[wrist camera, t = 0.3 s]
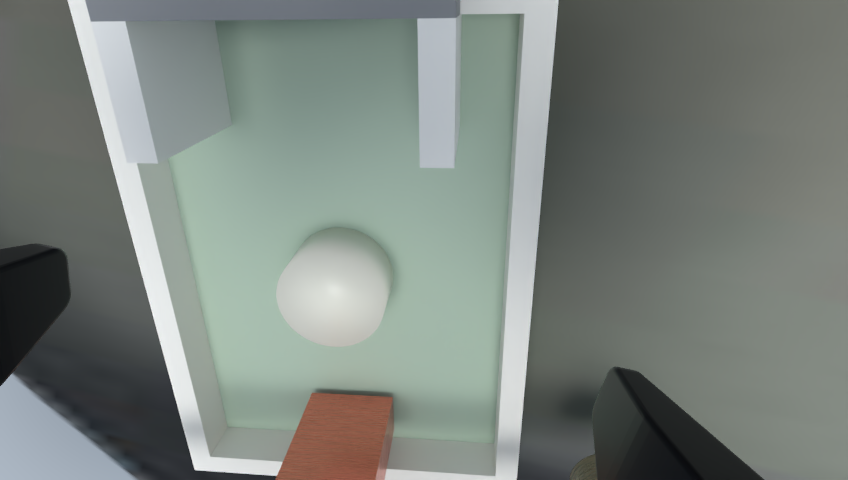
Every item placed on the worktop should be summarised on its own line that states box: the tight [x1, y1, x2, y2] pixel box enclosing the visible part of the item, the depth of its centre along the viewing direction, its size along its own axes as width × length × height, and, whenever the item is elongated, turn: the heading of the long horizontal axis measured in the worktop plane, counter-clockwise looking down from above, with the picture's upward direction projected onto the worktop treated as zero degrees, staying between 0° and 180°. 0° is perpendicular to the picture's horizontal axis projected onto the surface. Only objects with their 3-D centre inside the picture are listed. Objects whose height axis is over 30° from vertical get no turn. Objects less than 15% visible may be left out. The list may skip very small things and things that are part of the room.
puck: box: [276, 227, 393, 347], centre depth 22 cm, size 4×4×2 cm
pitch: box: [68, 0, 559, 480], centre depth 21 cm, size 22×16×6 cm
